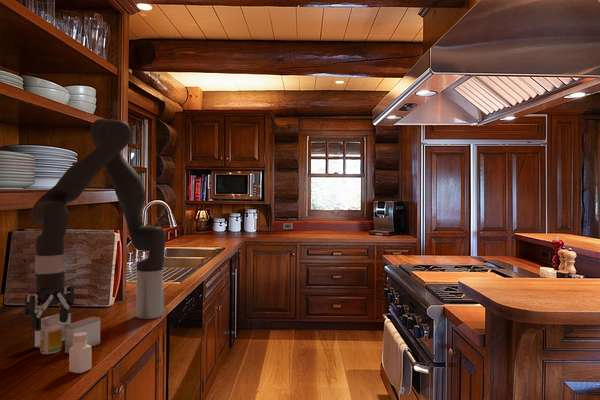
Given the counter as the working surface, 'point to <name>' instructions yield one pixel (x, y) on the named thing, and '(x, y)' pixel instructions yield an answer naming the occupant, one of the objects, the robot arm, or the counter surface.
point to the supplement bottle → (50, 335)
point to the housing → (76, 331)
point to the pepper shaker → (80, 354)
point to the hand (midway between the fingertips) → (50, 326)
